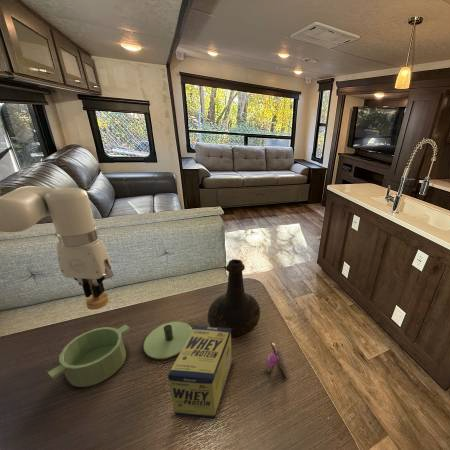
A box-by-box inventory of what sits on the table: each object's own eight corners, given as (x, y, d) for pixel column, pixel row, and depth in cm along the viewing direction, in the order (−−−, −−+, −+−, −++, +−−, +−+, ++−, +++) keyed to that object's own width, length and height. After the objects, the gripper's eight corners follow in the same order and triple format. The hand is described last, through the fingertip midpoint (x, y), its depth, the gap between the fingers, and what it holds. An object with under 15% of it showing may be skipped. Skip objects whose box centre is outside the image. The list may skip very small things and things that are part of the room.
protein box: (174, 416, 62) (166, 375, 56) (199, 361, 76) (195, 323, 70) (215, 420, 62) (212, 379, 56) (232, 364, 77) (231, 326, 70)
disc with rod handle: (83, 305, 70) (75, 279, 67) (102, 295, 74) (96, 270, 71) (93, 312, 68) (85, 285, 65) (112, 301, 73) (106, 276, 69)
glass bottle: (203, 319, 92) (197, 254, 81) (248, 304, 101) (249, 244, 90) (217, 356, 78) (213, 285, 67) (267, 334, 88) (271, 269, 77)
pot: (45, 379, 68) (36, 360, 65) (119, 332, 83) (114, 315, 80) (70, 406, 62) (61, 386, 59) (144, 350, 78) (140, 333, 75)
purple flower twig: (282, 364, 71) (273, 340, 78) (266, 374, 69) (258, 348, 77) (288, 376, 74) (278, 352, 82) (272, 386, 73) (264, 360, 80)
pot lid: (134, 346, 79) (130, 333, 77) (174, 318, 91) (172, 305, 89) (164, 368, 73) (161, 354, 71) (202, 335, 85) (201, 322, 83)
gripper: (31, 241, 59) (54, 302, 66) (101, 245, 60) (116, 304, 67) (58, 228, 66) (76, 284, 73) (120, 232, 67) (132, 287, 74)
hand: (95, 293), depth 70 cm, fingers closed on disc with rod handle, 1 cm apart
